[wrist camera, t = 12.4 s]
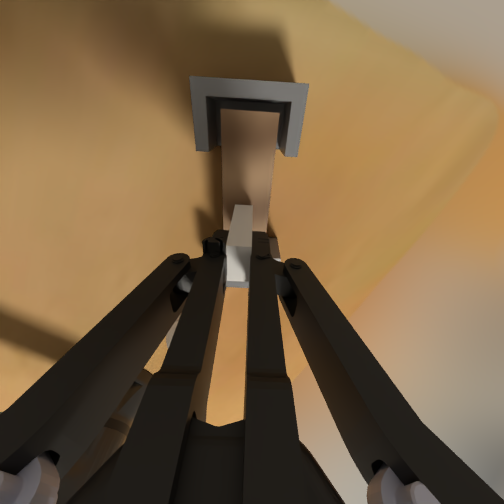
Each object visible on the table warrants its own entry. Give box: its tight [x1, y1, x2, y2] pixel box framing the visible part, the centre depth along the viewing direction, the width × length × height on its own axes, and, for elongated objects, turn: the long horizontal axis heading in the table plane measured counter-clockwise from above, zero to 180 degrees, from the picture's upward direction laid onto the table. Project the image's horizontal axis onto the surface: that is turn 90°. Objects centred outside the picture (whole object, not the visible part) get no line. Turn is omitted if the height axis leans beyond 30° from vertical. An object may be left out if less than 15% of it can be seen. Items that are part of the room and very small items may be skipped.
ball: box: [166, 314, 181, 348], centre depth 30 cm, size 10×7×7 cm
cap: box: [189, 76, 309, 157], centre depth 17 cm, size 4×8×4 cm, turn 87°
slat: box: [221, 109, 280, 232], centre depth 20 cm, size 15×4×5 cm, turn 177°
